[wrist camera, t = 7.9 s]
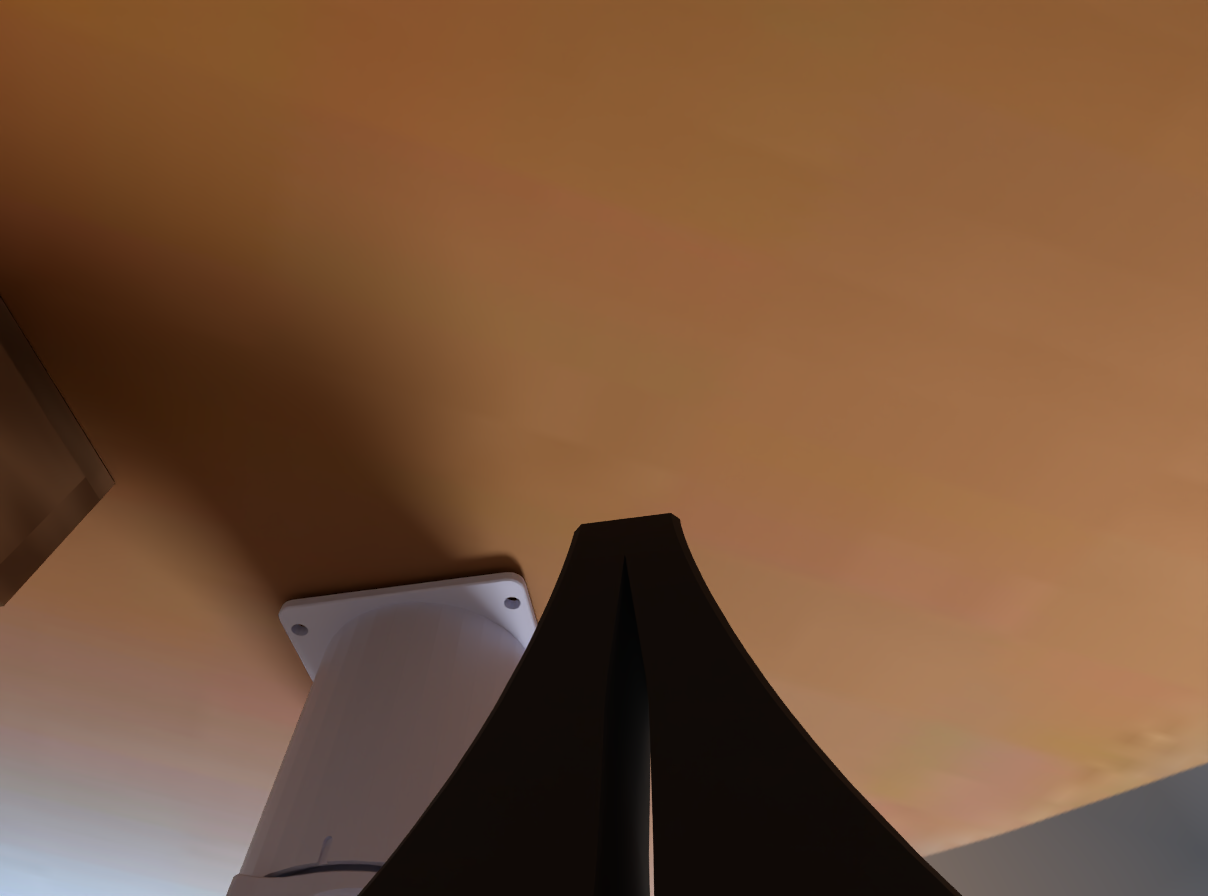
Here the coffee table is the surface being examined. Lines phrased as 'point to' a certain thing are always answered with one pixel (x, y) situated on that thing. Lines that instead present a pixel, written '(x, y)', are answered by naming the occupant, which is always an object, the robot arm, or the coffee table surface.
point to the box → (38, 463)
